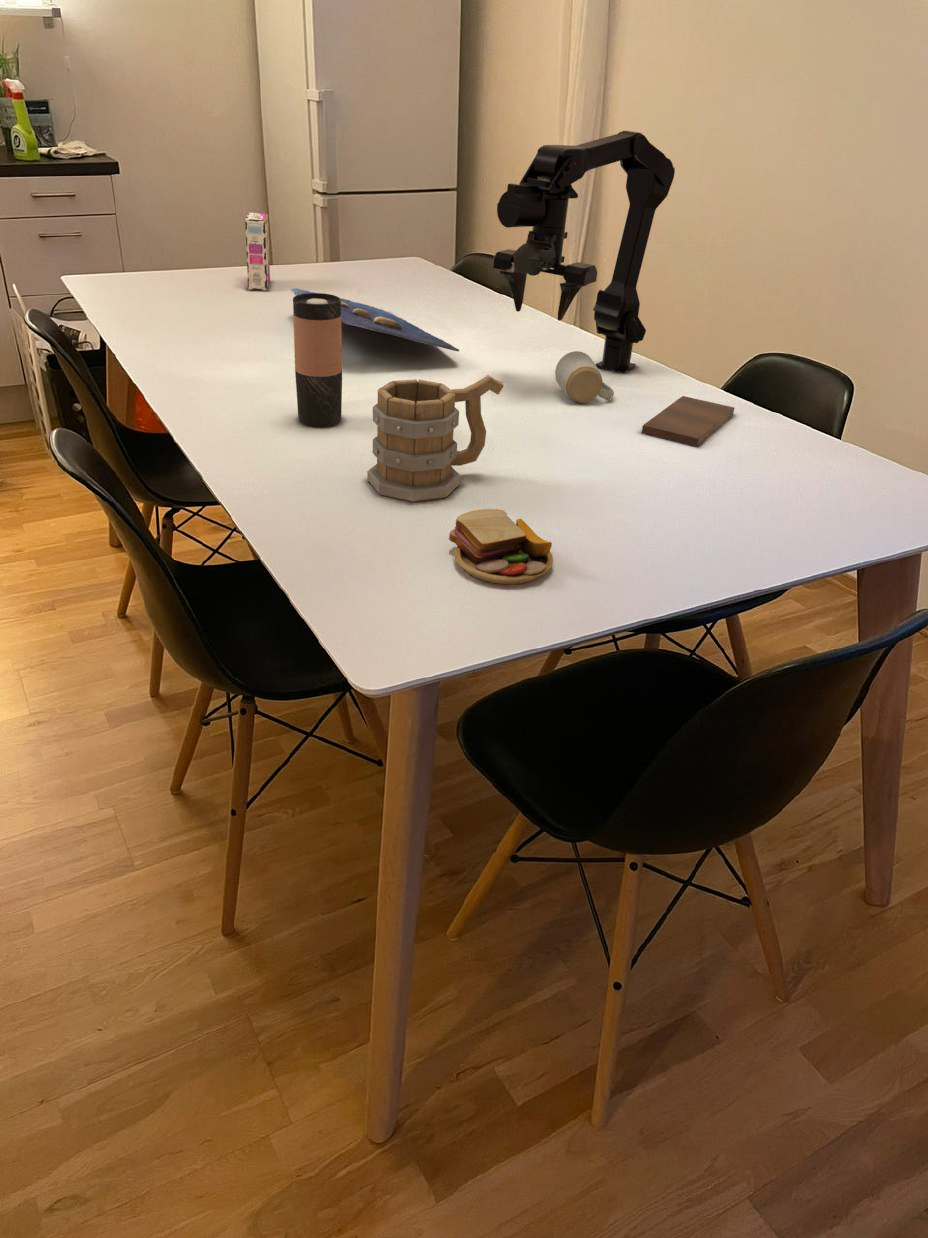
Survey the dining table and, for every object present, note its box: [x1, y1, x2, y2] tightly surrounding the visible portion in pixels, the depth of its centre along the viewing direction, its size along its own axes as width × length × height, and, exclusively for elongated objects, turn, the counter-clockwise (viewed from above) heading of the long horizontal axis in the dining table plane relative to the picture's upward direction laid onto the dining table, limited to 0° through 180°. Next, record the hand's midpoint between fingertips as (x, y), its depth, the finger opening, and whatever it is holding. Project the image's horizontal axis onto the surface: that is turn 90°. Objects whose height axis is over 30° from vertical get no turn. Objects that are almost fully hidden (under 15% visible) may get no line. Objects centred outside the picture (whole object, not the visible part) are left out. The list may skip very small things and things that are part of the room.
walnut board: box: [641, 395, 735, 448], centre depth 169 cm, size 20×10×2 cm, turn 149°
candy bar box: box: [244, 212, 271, 292], centre depth 235 cm, size 11×5×16 cm, turn 6°
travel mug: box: [292, 292, 343, 429], centre depth 155 cm, size 8×8×20 cm
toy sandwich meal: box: [448, 508, 554, 585], centre depth 120 cm, size 12×14×5 cm
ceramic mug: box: [554, 350, 615, 404], centre depth 176 cm, size 11×8×8 cm
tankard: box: [366, 375, 505, 503], centre depth 138 cm, size 20×13×15 cm, turn 114°
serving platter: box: [290, 287, 460, 352], centre depth 202 cm, size 45×27×12 cm, turn 25°
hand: (538, 315), depth 176 cm, fingers open, 8 cm apart
